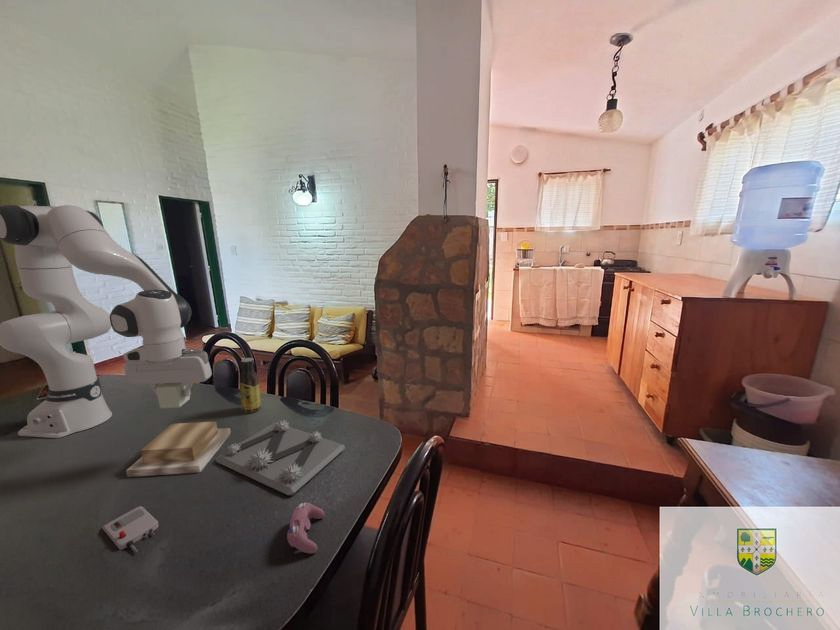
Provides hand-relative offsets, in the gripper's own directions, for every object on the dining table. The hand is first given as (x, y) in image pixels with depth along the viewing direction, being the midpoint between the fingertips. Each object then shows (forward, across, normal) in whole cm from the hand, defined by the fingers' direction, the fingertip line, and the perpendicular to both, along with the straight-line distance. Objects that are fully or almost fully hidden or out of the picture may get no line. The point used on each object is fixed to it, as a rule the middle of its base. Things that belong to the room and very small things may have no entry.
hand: (174, 396), depth 91 cm
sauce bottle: (+18, -10, -24) cm, 32 cm away
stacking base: (+18, 0, 0) cm, 18 cm away
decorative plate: (+19, -29, +4) cm, 35 cm away
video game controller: (+19, -42, +32) cm, 56 cm away
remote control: (+19, -4, +26) cm, 33 cm away
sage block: (+2, 0, 0) cm, 2 cm away
